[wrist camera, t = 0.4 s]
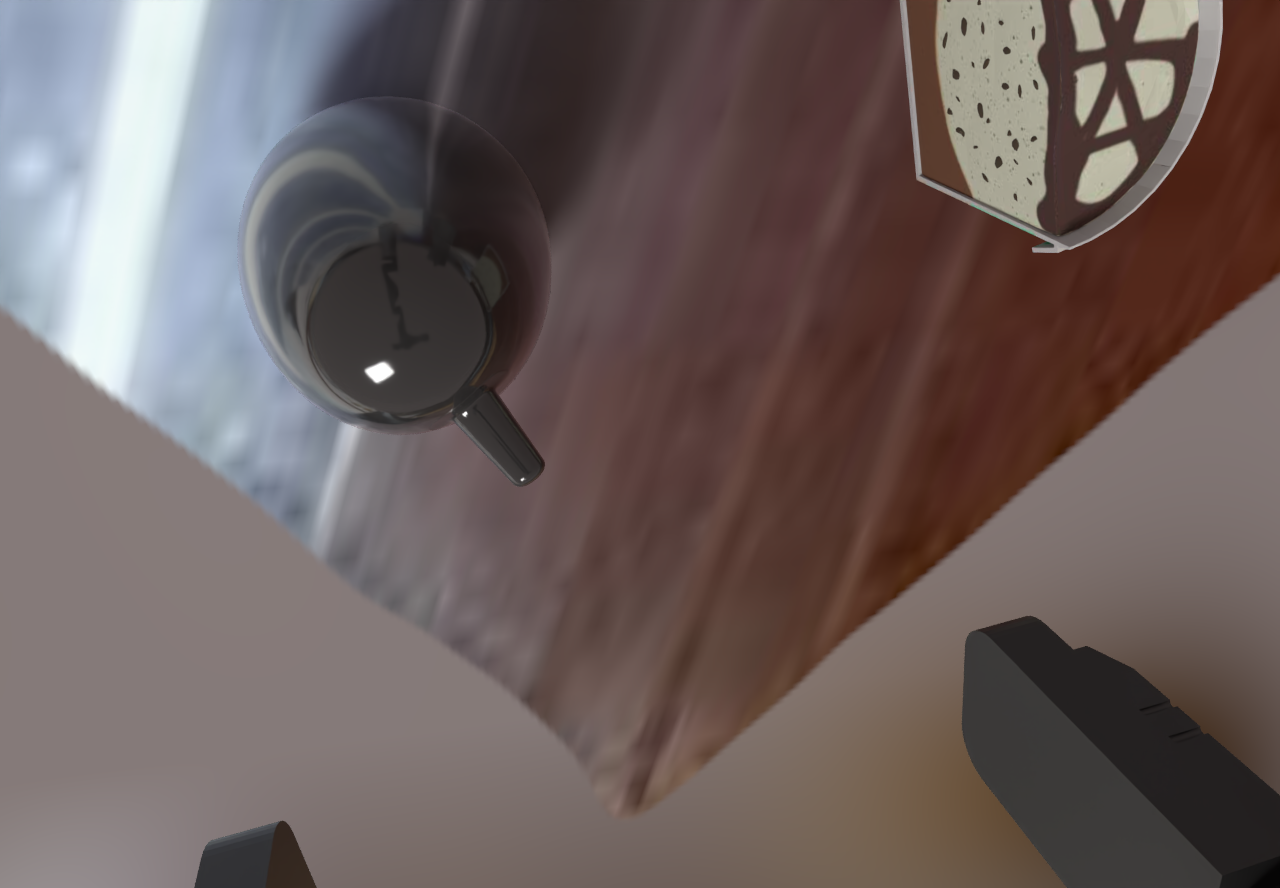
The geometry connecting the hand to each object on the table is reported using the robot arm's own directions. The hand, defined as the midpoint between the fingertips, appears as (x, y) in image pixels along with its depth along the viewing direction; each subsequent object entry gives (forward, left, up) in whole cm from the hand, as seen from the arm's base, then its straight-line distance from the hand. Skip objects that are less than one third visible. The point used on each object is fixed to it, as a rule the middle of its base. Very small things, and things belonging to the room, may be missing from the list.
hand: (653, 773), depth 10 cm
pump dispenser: (-1, -3, -29) cm, 29 cm away
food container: (-6, +21, -29) cm, 36 cm away
